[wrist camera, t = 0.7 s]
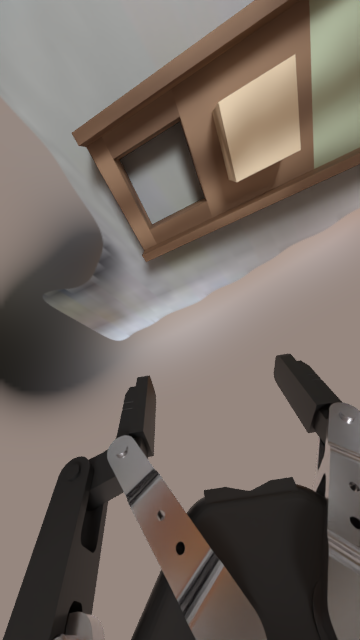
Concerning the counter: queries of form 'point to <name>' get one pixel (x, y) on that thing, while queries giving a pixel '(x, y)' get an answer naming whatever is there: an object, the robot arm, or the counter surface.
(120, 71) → the counter surface
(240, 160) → the maple block
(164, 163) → the counter surface
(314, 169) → the walnut track
